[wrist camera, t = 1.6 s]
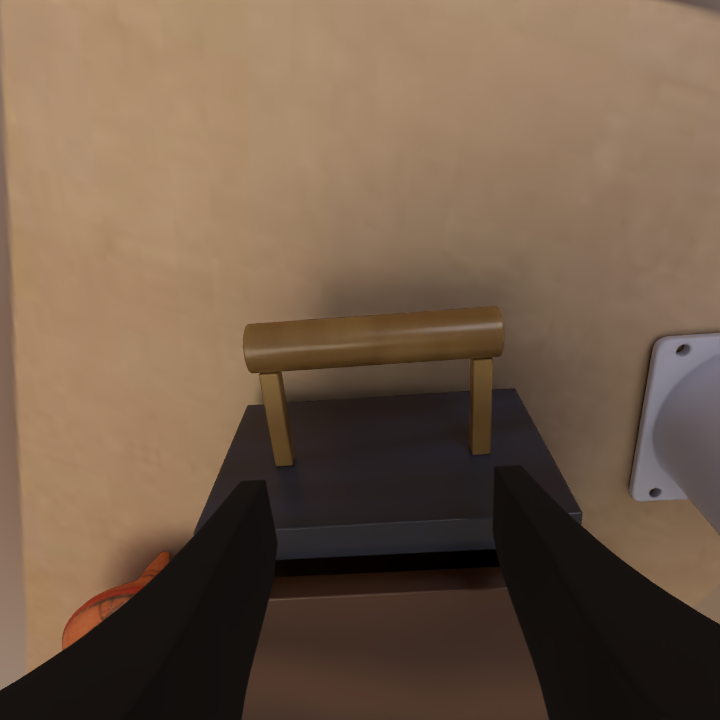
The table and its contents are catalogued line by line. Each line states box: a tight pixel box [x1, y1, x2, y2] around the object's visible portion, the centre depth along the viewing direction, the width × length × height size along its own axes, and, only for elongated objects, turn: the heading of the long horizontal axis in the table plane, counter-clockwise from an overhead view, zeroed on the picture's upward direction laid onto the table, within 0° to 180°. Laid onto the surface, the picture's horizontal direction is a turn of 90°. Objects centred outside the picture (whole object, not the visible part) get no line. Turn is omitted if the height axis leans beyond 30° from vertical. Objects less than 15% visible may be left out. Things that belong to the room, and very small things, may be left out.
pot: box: [62, 551, 170, 651], centre depth 25 cm, size 8×8×7 cm
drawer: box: [194, 306, 582, 577], centre depth 19 cm, size 18×11×7 cm, turn 4°
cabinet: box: [242, 567, 549, 720], centre depth 21 cm, size 14×12×9 cm
